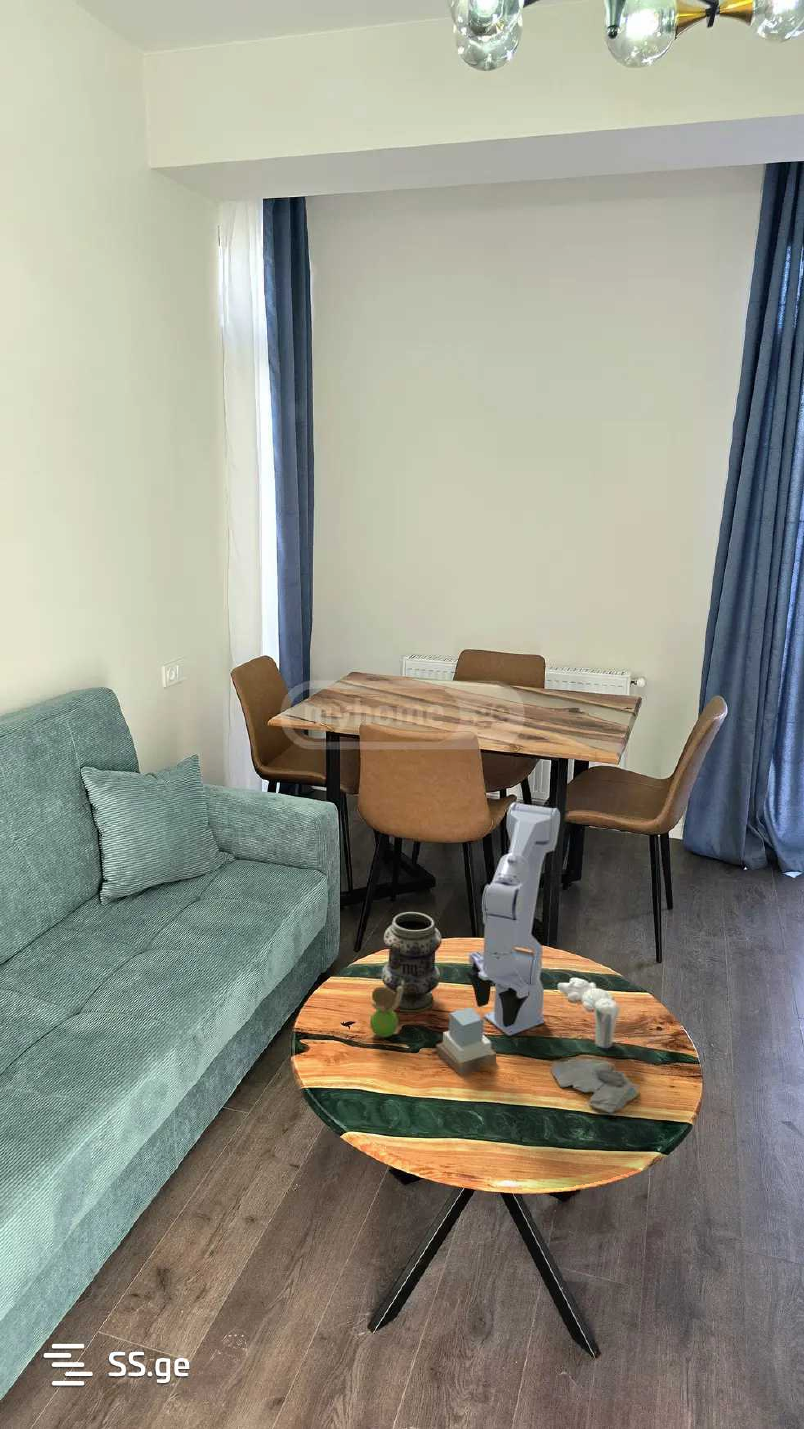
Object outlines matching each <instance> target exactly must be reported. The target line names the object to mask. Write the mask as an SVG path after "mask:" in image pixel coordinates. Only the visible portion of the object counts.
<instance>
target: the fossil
mask: <svg viewBox="0 0 804 1429" xmlns="http://www.w3.org/2000/svg"><path fill="white" fill-rule="evenodd" d="M614 1069H615V1064H614V1063H612V1062H608V1061H607V1062H606V1061H601V1060H600V1059H598V1058H594V1057H591V1059H579V1058H573V1059H572V1058H571V1059H569V1060H568V1059H567V1060H566V1061H561V1062H560V1061H557V1062H556V1061H555V1062H553V1063H551V1064H550V1072H551V1074H552V1076H553V1077H554V1078H555V1079H556V1081H557V1083H558V1085H559V1086H560V1087H561V1088H565V1087H569V1086H572V1087H573V1089H575V1090H577V1091H580V1092H584V1093H593V1095H592V1096H591V1097H590V1099H589V1103H588V1105H589V1106H591V1107H593V1108H595V1109H596V1110H600V1111H601V1112H605V1113H606V1112H607V1113H611V1114H612V1113H614V1112H615V1111H620V1110H621V1109H622V1108H623V1107H624V1106H626V1105H627V1102H629V1101H632V1100H633V1099H634V1098H636V1097H637V1096H638V1094H639V1087H638V1085H635V1084H633V1083H631V1081H630V1080H629V1079H628V1077H627V1076H626V1075H624V1073H623V1072H620V1071H619V1070H614Z"/></svg>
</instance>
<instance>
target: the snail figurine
mask: <svg viewBox="0 0 804 1429" xmlns="http://www.w3.org/2000/svg"><path fill="white" fill-rule="evenodd" d="M401 985H402V987H401V986H399V987H398V988H397V995H396V998H395V995H394V993H393V991H392V990H391V989H389V988H388V987H387V986H386V985H381V986H377V987H376V988H374V989H373V991H372V994H371V998H372V1000H373V1003H371V1006H372V1007H373V1008H374V1009H375V1011H374V1012H372V1014H371V1016H370V1020H369V1024H370V1026H369V1027H370V1029H371V1031H372V1033H373V1034H375V1035H376V1036H377V1037H380V1038H389V1037H390V1036H392V1035H393V1034H395V1033H396V1031H397V1029H398V1026H399V1018H398V1016H397V1014H396V1012H394V1011H396V1010H395V1009H396V1008H397V1007H398V1006H399V1004H400V1001H401V998H402V994H403V992H404V988H403V985H404V981H402V983H401Z"/></svg>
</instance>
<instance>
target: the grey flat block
mask: <svg viewBox="0 0 804 1429" xmlns="http://www.w3.org/2000/svg"><path fill="white" fill-rule="evenodd" d="M435 1046H436V1047H435V1054H436V1055H437V1056H438V1057H439V1058H440V1059H442V1060H443V1061H444V1062H445V1063H446V1064H447V1065H448V1066H450V1067H451V1068H452V1069H453V1070H454V1071H455V1072H456V1073H457V1074H459V1075H460V1076H461V1077H463V1076H465V1075H467V1074H470V1073H472V1072H475V1071H478V1070H480V1069H482V1068H484V1067H487V1066H490V1065H492V1064H494V1063H496V1061H497V1052H496V1051H494V1050H493V1049H492V1048H491V1053H490V1054H489V1055H486V1056H483V1057H479V1058H476V1059H473V1060H469V1061H466V1062H463V1063H459V1061H458V1060H457V1059H456V1058H455V1057H454V1056H453V1055H452V1054H451V1053H450V1052H449V1051H448V1049H447V1048H446V1047H445V1046H444V1045H443V1041H442V1042H440V1043H437V1044H436V1045H435Z"/></svg>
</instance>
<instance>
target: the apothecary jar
mask: <svg viewBox="0 0 804 1429" xmlns="http://www.w3.org/2000/svg"><path fill="white" fill-rule="evenodd" d="M442 939H443V938H442V935H441V932H440V931H439V930H438V928H436V925H435V922H434V920H433V918H432V917H430V916H429V915H427V914H425V913H421V912H415V911H408V912H407V911H406V912H401V913H399V914H397V915H395V916H394V917H393V919H392V923H391V925H389V927H387V928H386V930H385V932H384V934H383V941H384V944H385V947H386V948H387V949H388V960H387V963H385V965H384V966H383V967H382V970H381V974H380V976H381V980H382V982H383V985H384V986H385V987H388V988H389V989H391V990H392V991H393V993H394V995H395V998H396V995H397V988H398V987H399V986H401V987H402V985H401V983H402V981H404V985H403V988H404V992H403V994H402V998H401V1001H400V1004H399V1006H398V1007H397V1008H396V1009H395V1010H394V1011H398V1012H402V1013H406V1014H407V1013H408V1014H409V1013H410V1014H413V1013H414V1014H415V1013H420V1012H424V1011H427V1010H428V1009H430V1008H432V1006H433V1005H434V1003H435V998H434V996H433V993H431V992H432V991H433V990H435V989H436V988H437V987H438V985H439V984H440V980H441V972H440V970H439V968H438V966H436V952H437V951H438V950H439V948H440V947H441V944H442Z"/></svg>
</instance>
